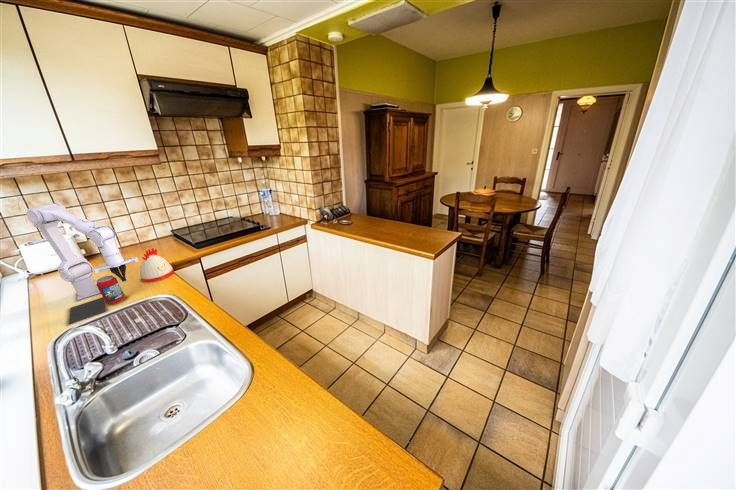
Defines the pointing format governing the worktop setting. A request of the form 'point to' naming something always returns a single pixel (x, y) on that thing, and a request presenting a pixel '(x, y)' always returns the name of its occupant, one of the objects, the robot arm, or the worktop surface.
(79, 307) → the rubber mat
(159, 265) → the kitchen timer
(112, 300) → the beverage can
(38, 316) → the worktop surface
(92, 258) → the worktop surface
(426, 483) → the worktop surface
